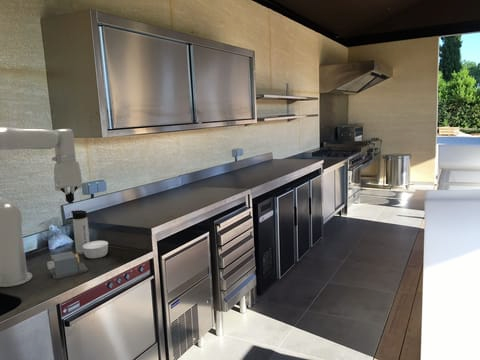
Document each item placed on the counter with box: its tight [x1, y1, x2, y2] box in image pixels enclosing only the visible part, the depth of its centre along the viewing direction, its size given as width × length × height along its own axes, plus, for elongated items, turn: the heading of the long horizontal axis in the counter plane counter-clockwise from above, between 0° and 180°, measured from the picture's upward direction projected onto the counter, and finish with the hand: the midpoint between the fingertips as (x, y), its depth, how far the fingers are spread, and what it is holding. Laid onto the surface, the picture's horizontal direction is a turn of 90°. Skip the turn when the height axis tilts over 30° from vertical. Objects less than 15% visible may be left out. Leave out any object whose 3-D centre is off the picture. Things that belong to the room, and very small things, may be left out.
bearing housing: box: [49, 250, 89, 280], centre depth 168 cm, size 13×9×7 cm
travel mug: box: [71, 209, 91, 255], centre depth 191 cm, size 6×7×20 cm
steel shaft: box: [46, 252, 81, 270], centre depth 167 cm, size 11×5×5 cm, turn 123°
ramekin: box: [82, 240, 109, 260], centre depth 188 cm, size 11×11×5 cm
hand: (70, 202), depth 173 cm, fingers closed
